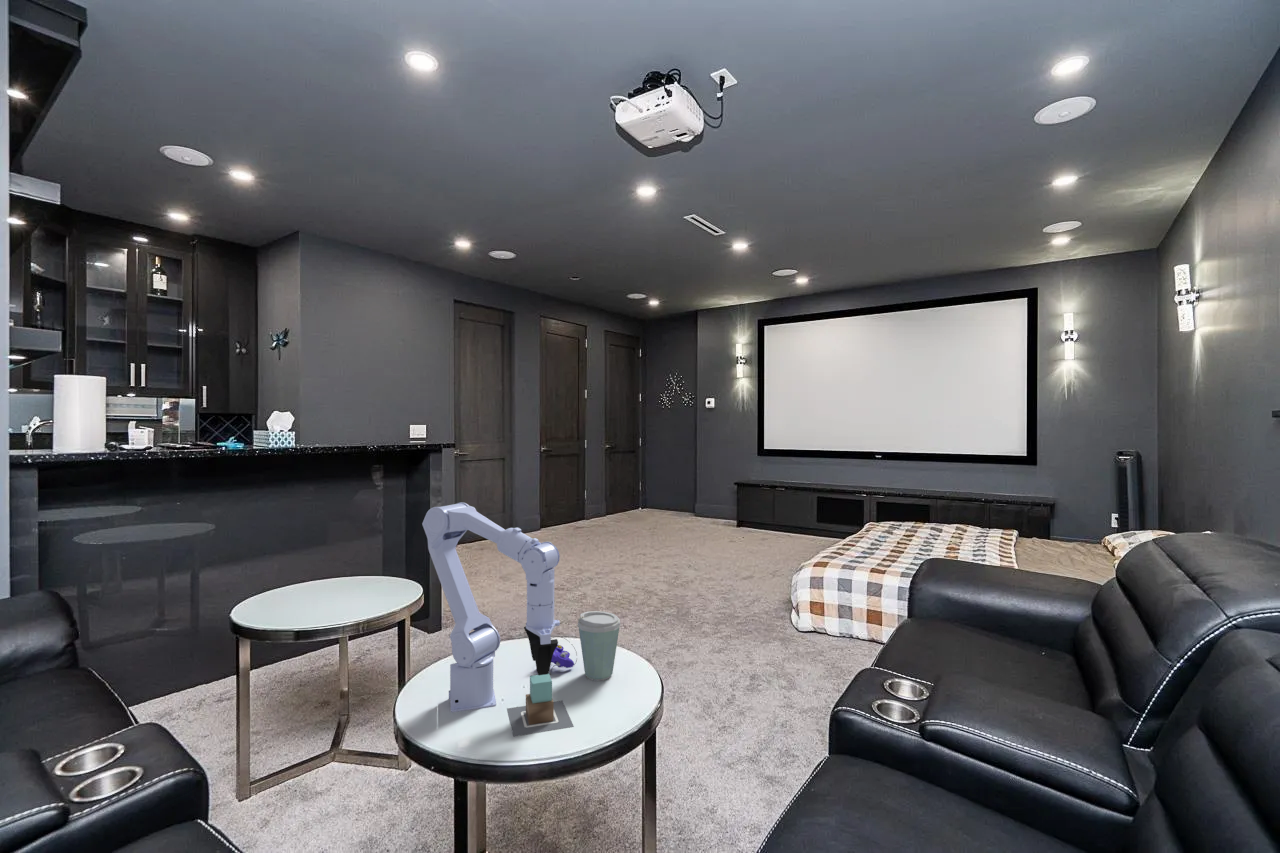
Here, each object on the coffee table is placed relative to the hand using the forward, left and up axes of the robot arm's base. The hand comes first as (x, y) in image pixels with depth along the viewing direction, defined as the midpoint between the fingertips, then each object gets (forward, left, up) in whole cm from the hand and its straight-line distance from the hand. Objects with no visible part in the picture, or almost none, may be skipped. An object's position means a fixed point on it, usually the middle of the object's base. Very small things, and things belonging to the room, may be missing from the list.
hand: (540, 666), depth 123 cm
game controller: (+7, +23, -11) cm, 26 cm away
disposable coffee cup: (+17, +15, -11) cm, 25 cm away
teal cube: (0, -1, -6) cm, 6 cm away
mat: (0, -1, -10) cm, 10 cm away
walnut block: (0, -1, -10) cm, 10 cm away
